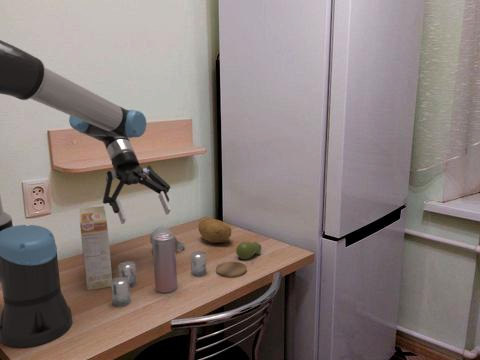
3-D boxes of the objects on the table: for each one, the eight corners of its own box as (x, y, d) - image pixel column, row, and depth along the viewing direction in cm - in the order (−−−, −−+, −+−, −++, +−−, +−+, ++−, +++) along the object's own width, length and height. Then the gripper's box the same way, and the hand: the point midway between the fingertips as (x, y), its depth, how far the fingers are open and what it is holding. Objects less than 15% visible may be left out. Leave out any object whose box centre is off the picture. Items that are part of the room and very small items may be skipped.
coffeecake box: (85, 269, 129) (79, 208, 125) (110, 266, 131) (104, 205, 127) (86, 291, 115) (79, 222, 111) (113, 286, 118) (107, 219, 114)
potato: (219, 250, 142) (218, 227, 141) (192, 240, 152) (191, 219, 150) (239, 242, 149) (239, 221, 147) (212, 233, 159) (212, 213, 157)
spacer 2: (189, 276, 123) (188, 256, 122) (194, 269, 128) (193, 250, 126) (203, 277, 123) (203, 257, 121) (208, 270, 127) (207, 251, 126)
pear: (233, 241, 135) (252, 238, 142) (232, 258, 135) (251, 253, 143) (247, 245, 131) (266, 241, 139) (245, 262, 132) (264, 257, 139)
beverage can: (154, 285, 118) (150, 234, 115) (175, 282, 120) (172, 231, 116) (156, 295, 112) (153, 241, 109) (179, 291, 114) (176, 238, 111)
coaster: (212, 276, 123) (212, 273, 123) (220, 263, 132) (220, 260, 131) (243, 278, 121) (243, 275, 121) (248, 265, 130) (248, 262, 130)
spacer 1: (109, 305, 107) (107, 283, 106) (118, 297, 112) (116, 276, 110) (125, 307, 106) (124, 285, 105) (133, 298, 111) (132, 277, 109)
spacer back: (117, 287, 117) (115, 267, 116) (124, 280, 121) (123, 260, 120) (132, 288, 116) (130, 268, 115) (139, 281, 121) (137, 261, 119)
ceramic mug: (158, 258, 137) (157, 235, 135) (150, 250, 144) (149, 228, 142) (188, 252, 142) (188, 230, 141) (179, 244, 149) (178, 223, 147)
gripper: (157, 160, 139) (181, 214, 131) (80, 170, 125) (101, 232, 117) (163, 146, 134) (189, 201, 125) (83, 155, 120) (105, 218, 111)
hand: (147, 216), depth 121 cm, fingers open, 13 cm apart
